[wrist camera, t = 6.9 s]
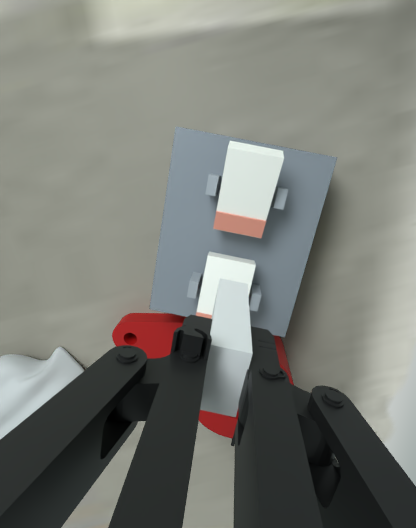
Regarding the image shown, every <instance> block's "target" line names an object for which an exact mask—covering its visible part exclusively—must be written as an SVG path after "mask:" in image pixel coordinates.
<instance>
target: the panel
mask: <svg viewBox="0 0 416 528" xmlns="http://www.w3.org/2000/svg"><path fill="white" fill-rule="evenodd" d="M230 141H235V142H240V143H245V144H250V145H256V146H261V147H266V148H271V149H276V150H281V151H283V154H284V160H283V164H282V167H281V171H280V174H279V178H278V181H277V185H276V188H275V192H274V195H273V199H272V202H271V205H270V209H269V212H268V216H267V219H266V224H265V227H264V231H263V234H262V238H256V237H251V236H246V235H241V234H236V233H231V232H226V231H221V230H216V229H213V227H214V221H215V215H216V210H217V205H218V199H219V194H220V188H221V183H222V177H223V171H224V166H225V160H226V155H227V149H228V145H229V142H230ZM336 160H337V157H332V156H327V155H322V154H316V153H311V152H306V151H301V150H296V149H290V148H285V147H280V146H275V145H270V144H264V143H259V142H254V141H249V140H244V139H239V138H233V137H228V136H223V135H218V134H213V133H207V132H202V131H197V130H192V129H187V128H181V127H176V128H175V135H174V142H173V149H172V156H171V163H170V170H169V177H168V184H167V191H166V198H165V205H164V212H163V218H162V225H161V232H160V239H159V246H158V253H157V260H156V267H155V274H154V281H153V288H152V295H151V302H150V308H149V309H152V310H157V311H161V312H166V313H171V314H176V315H181V316H185V317H188V316H189V315H196V312H197V307H198V302H199V297H200V292H201V287H202V282H203V277H204V271H205V266H206V261H207V256H208V253H209V252H214V253H219V254H224V255H229V256H234V257H239V258H244V259H249V260H254V261H255V264H256V267H255V271H254V275H253V280H252V284H251V288H250V293H249V311H250V325H251V326H252V327H257V328H262V329H267V330H269V331H270V333H271V334H272V335H276V336H281V337H285V335H286V332H287V328H288V325H289V321H290V318H291V315H292V311H293V308H294V304H295V301H296V297H297V294H298V291H299V287H300V284H301V280H302V277H303V273H304V270H305V266H306V263H307V260H308V256H309V253H310V249H311V246H312V242H313V239H314V236H315V232H316V229H317V225H318V222H319V218H320V215H321V212H322V208H323V205H324V201H325V198H326V194H327V191H328V187H329V184H330V181H331V177H332V174H333V170H334V167H335V163H336Z"/></svg>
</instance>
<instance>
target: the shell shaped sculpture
mask: <svg viewBox="0 0 416 528" xmlns="http://www.w3.org/2000/svg"><path fill="white" fill-rule="evenodd" d="M82 372H84V369H83V368H82V367H81V365H80V364H79V363H78V362H77V361H76V360H75V359H74V358H73V357H72V356H71V355H70V354H69V353H68V352H67V351H66V350H65V349H64V348H62V347H58V348H57V349H56V350H55V351H54V352H53V354H52V356H51V357H50V358H49V359H48V360H38V359H35V358H32V357H28V356H25V355H20V354H7V355H4V356H0V439H2V438H3V437H4V436H5V435H7V434H8V433H9V432H10V431H11V430H13V429H14V428H15V427H16V426H18V425H19V424H20V423H21V422H22V421H24V420H25V419H26V418H27V417H29V416H30V415H31V414H32V413H33V412H35V411H36V410H37V409H38V408H40V407H41V406H42V405H43V404H44V403H46V402H47V401H48V400H49V399H51V398H52V397H53V396H54V395H55V394H57V393H58V392H59V391H60V390H62V389H63V388H64V387H65V386H66V385H68V384H69V383H70V382H71V381H73V380H74V379H75V378H76V377H77V376H79V375H80V374H81V373H82Z"/></svg>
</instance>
